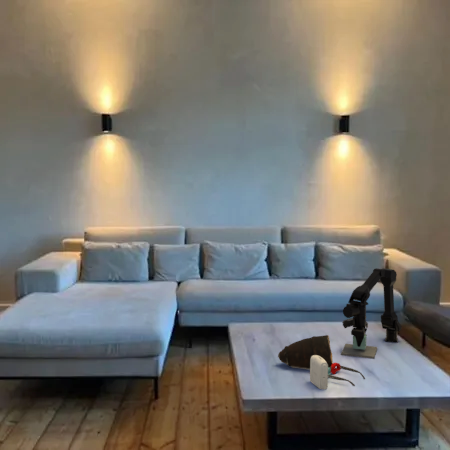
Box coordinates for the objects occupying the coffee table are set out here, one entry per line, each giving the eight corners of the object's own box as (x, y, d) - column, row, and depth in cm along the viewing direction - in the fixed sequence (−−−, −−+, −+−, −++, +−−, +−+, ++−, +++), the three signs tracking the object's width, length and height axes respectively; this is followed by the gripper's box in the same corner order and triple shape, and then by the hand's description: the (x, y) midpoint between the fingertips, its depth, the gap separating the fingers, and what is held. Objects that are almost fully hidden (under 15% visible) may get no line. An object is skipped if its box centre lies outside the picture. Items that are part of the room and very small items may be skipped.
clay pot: (275, 336, 250) (327, 328, 246) (281, 365, 253) (333, 358, 249) (274, 350, 236) (329, 342, 232) (280, 380, 239) (335, 373, 234)
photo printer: (329, 389, 216) (329, 360, 215) (319, 390, 215) (320, 361, 214) (317, 380, 226) (317, 352, 225) (308, 381, 225) (308, 353, 224)
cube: (354, 344, 267) (354, 333, 266) (366, 346, 265) (366, 334, 264) (352, 348, 261) (352, 336, 261) (365, 349, 259) (365, 337, 259)
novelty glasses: (336, 371, 238) (336, 360, 237) (366, 378, 228) (367, 367, 228) (321, 380, 227) (321, 369, 227) (352, 388, 218) (352, 377, 217)
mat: (345, 345, 274) (345, 343, 273) (377, 348, 268) (377, 346, 268) (340, 355, 259) (341, 353, 259) (374, 358, 253) (374, 356, 253)
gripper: (346, 308, 273) (346, 337, 274) (340, 317, 256) (340, 348, 257) (368, 310, 269) (367, 340, 270) (364, 319, 252) (363, 351, 253)
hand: (359, 344), depth 263 cm, fingers closed on cube, 6 cm apart
